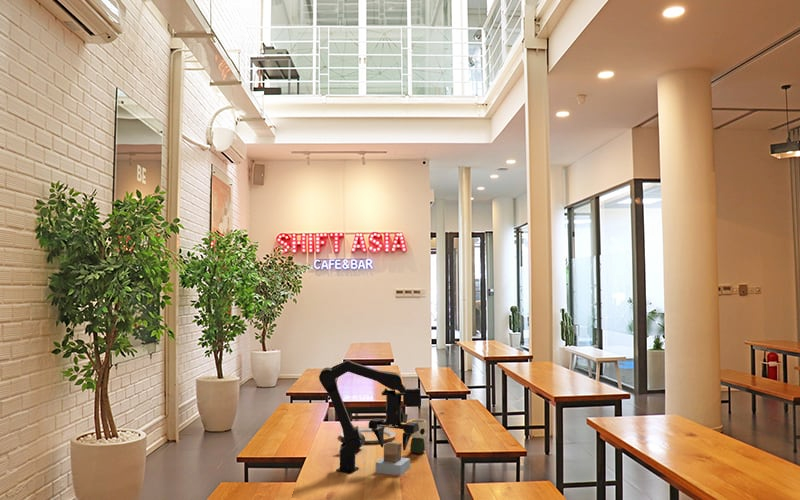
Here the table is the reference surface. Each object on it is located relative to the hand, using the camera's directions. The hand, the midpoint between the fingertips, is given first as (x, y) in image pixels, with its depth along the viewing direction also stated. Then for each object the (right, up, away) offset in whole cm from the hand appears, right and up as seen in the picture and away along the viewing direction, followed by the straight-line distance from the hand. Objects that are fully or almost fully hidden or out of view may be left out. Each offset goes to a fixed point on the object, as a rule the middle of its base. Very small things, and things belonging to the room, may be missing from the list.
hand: (393, 448), depth 233 cm
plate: (-12, -11, +48) cm, 50 cm away
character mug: (+10, -9, +24) cm, 27 cm away
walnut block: (0, -4, 0) cm, 4 cm away
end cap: (-17, -9, +25) cm, 32 cm away
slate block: (0, -8, -1) cm, 8 cm away
